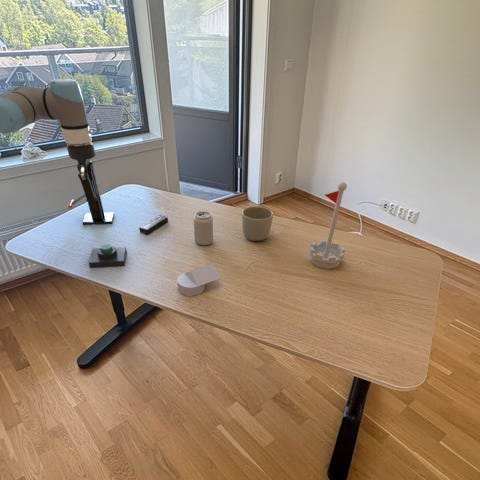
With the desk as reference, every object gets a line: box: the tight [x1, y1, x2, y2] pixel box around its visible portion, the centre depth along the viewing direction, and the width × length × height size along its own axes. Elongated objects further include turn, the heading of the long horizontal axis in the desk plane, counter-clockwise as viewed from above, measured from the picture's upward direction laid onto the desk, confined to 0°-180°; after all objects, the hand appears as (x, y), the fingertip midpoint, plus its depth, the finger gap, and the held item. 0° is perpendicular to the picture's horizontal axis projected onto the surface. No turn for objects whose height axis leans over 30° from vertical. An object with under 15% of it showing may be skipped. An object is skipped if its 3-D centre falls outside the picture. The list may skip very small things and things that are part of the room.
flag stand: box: [308, 181, 348, 270], centre depth 123 cm, size 13×13×30 cm
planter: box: [241, 205, 274, 242], centre depth 141 cm, size 12×12×11 cm
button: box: [100, 244, 112, 253], centre depth 125 cm, size 4×4×2 cm
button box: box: [88, 245, 128, 269], centre depth 126 cm, size 12×10×4 cm
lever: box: [68, 192, 86, 210], centre depth 144 cm, size 13×6×2 cm, turn 99°
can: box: [193, 210, 214, 247], centre depth 136 cm, size 8×8×12 cm
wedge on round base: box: [176, 263, 221, 297], centre depth 115 cm, size 9×7×13 cm
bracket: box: [82, 184, 115, 226], centre depth 147 cm, size 12×9×15 cm
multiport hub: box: [138, 214, 169, 236], centre depth 148 cm, size 4×14×2 cm, turn 153°
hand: (98, 217), depth 118 cm, fingers closed
